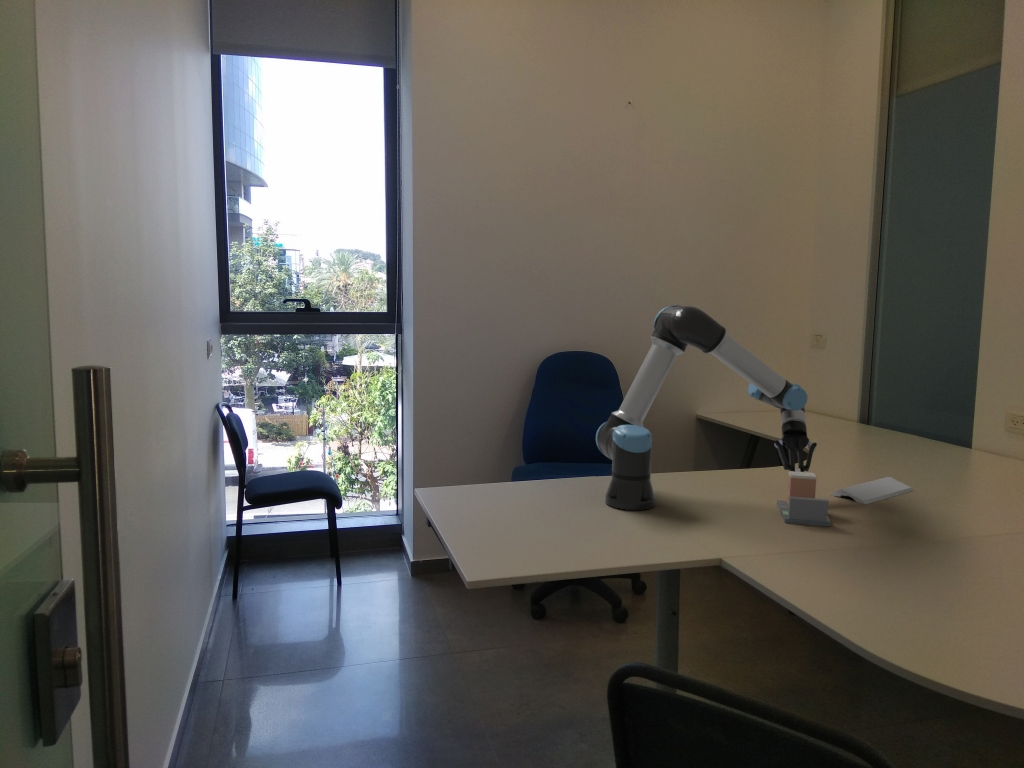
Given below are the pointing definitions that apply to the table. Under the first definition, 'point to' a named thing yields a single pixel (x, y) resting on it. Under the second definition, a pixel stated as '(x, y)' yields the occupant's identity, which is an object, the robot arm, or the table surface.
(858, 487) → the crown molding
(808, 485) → the orange box with lid
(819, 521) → the base
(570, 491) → the table surface
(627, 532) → the table surface
